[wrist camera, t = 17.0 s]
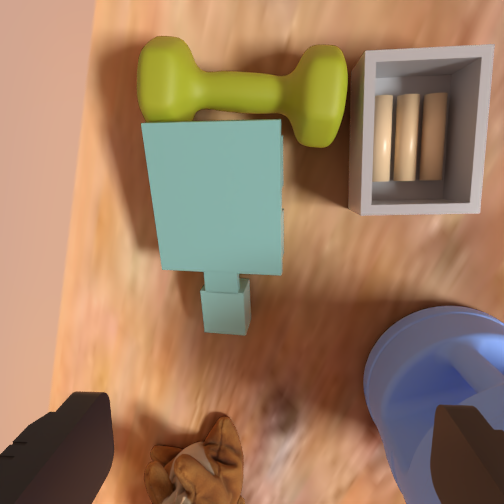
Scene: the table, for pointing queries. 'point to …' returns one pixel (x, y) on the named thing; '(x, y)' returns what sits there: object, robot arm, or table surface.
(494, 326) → the water jug
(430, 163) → the tub
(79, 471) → the robot arm
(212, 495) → the stuffed squirrel
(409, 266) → the table surface
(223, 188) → the teal flat paddle shape
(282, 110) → the dumbbell
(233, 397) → the table surface
